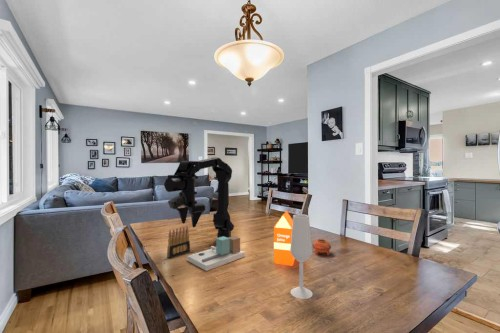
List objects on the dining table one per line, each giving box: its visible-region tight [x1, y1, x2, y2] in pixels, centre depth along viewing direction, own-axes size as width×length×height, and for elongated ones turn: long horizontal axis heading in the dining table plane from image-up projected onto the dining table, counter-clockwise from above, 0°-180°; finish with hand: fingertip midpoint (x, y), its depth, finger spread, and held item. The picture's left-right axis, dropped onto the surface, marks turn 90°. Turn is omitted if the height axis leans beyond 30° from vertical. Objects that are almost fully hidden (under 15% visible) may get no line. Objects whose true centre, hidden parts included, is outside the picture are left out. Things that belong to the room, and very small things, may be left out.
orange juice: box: [273, 210, 296, 267], centre depth 99 cm, size 8×9×20 cm
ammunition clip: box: [166, 225, 191, 259], centre depth 106 cm, size 11×2×12 cm, turn 141°
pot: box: [312, 238, 332, 256], centre depth 107 cm, size 8×8×7 cm
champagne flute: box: [290, 213, 313, 300], centre depth 74 cm, size 7×7×24 cm
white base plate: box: [186, 235, 246, 272], centre depth 101 cm, size 20×14×8 cm
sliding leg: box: [210, 236, 230, 255], centre depth 102 cm, size 4×10×7 cm, turn 45°
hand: (188, 225), depth 103 cm, fingers open, 9 cm apart
